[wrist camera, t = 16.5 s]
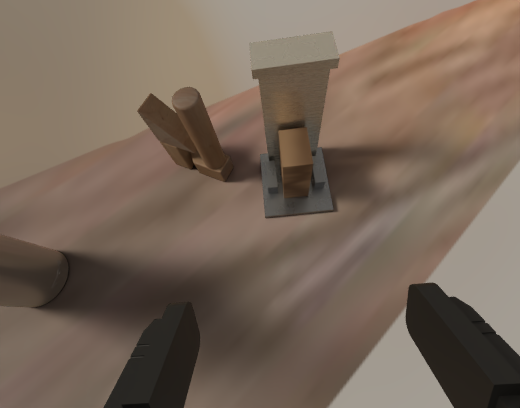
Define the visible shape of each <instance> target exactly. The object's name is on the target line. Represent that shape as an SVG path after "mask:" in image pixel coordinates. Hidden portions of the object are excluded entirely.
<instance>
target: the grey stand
mask: <svg viewBox="0 0 520 408" xmlns="http://www.w3.org/2000/svg"><path fill="white" fill-rule="evenodd" d="M250 58H251V70H252V76H253V79H259V87H260V95H261V103H262V110H263V118H264V126H265V134H266V142H267V150H268V153H267V154H260V159H261V172H262V184H263V196H264V208H265V218H271V217H281V216H291V215H301V214H311V213H321V212H331V211H333V204H332V199H331V194H330V189H329V184H328V178H327V173H326V168H325V163H324V158H323V153H322V147H319V148H317V146H318V140H319V134H320V128H321V122H322V116H323V110H324V104H325V98H326V92H327V86H328V79H329V73H330V69H334V68H338V63H339V54H338V51H337V47H336V43H335V40H334V36H333V32H332V31H331V32H324V33H318V34H310V35H303V36H296V37H289V38H282V39H275V40H269V41H261V42H254V43H250ZM304 127H307V131H308V137H309V142H310V148H311V154H312V160H313V169H312V175H311V181H310V188H309V194H308V196H301V197H292V198H284V194H283V185H282V177H281V168H280V151H279V134H278V131H279V130H288V129H296V128H304Z"/></svg>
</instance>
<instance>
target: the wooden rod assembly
mask: <svg viewBox="0 0 520 408" xmlns="http://www.w3.org/2000/svg"><path fill="white" fill-rule="evenodd" d="M172 104H173V107H174V109H175V110H176V112H177V113H175V112H174V111H173V110H172V109H170V108H169V107H168V106H166V105H165V104H164V103H163V102H162V101H160V100H159V99H158V98H156V97H155V96H154V95H153V94H149V96H148V97H147V98H146V100H145V101H144V102H143V104H142V105H141V106H140V108H139V109H138V113H139V114H140V116H141V117H142V118H143V120H144V121H145V122H146V124H147V125H148V127H149V128H150V129H151V131H152V132H153V133H154V135H155V136H156V137H157V139H158V140H159V141H160V143H161V144H162V145H163V147H164V148H165V149H166V151H167V152H168V153H169V155H170V156H171V158H172V159H173V160H174V162H175V163H176V164H178V165H181V166H183V167H186V168H189V169H192V167H193V166H194V164H195V166H196V168H197V169H198V171H199V172H200V173H202V174H205V175H207V176H210V177H213V178H215V179H218V180H221V181H223V182H225V181H226V179H227V178H228V176H229V174H230V172H231V170H232V169H233V164H232V161H231V158H230V156H228V155H225V154H224V153H223V151H222V148H221V146H220V143H219V141H218V138H217V136H216V133H215V131H214V128H213V126H212V123H211V121H210V118H209V116H208V113H207V111H206V108H205V106H204V103H203V101H202V98H201V96H200V93H199V92H198V91H197V90H196V89H194V88H192V87H185V88H182V89H180V90H178V91H176V93H175V94H174V95H173V97H172Z"/></svg>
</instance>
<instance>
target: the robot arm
mask: <svg viewBox="0 0 520 408" xmlns="http://www.w3.org/2000/svg"><path fill="white" fill-rule="evenodd" d="M68 270H69V268H68V262H67V259H66V258H65V256H64V255H63V254H62V253H61V252H58V251H56V250H53V249H49V248H46V247H42V246H39V245H36V244H32V243H29V242H25V241H22V240H18V239H15V238H11V237H8V236H4V235H1V234H0V306H7V307H38V306H42V305H44V304H46V303H48V302H49V301H51V300H52V299H53V298H55V297H56V295H57V294H58V293H59V292H60V291H61V289H62V288H63V286H64V284H65V282H66V280H67V276H68ZM406 325H407V328H408V331H409V334H410V336H411V337H412V339H413V341H414V342H415V344H416V346H417V347H418V349H419V351H420V352H421V354H422V356H423V357H424V359H425V360H426V362H427V364H428V365H429V367H430V369H431V370H432V372H433V374H434V375H435V377H436V379H437V380H438V382H439V383H440V385H441V387H442V389H443V390H444V392H445V394H446V395H447V397H448V398H449V400H450V402H451V403H452V405H453V406H454V408H520V356H519V355H518V354H517V353H516V352H515V351H514V350H513V349H512V348H511V347H510V346H509V345H508V344H507V343H506V342H505V341H504V340H503V339H502V338H501V337H500V336H499V335H497V334H496V332H495V331H494V330H493V329H492V327H491V326H490V325H489V324H488V323H485V321H484V319H483V318H482V317H481V316H480V315H479V314H478V313H477V312H476V311H475V310H474V309H473V308H472V307H471V306H469V305H467V304H466V303H464V302H462V301H461V300H459V299H458V298H456V297H448V296H447V295H446V294H445V293H444V292H443V290H442V289H441V288H440V287H439V286H438V285H437V284H435V283H422V284H411V285H410V286H409V290H408V299H407V309H406ZM199 346H200V333H199V329H198V325H197V321H196V318H195V314H194V310H193V307H192V304H191V303H190V302H181V303H170V304H169V305H168V306H167V308H166V310H165V312H164V315H163V317H162V319H155V320H154V321H153V322H152V323H151V324H150V325H149V326H148V327H147V328H146V329H145V330H144V331H143V333H142V335H141V337H140V339H139V341H138V343H137V347H135V349H134V351H133V353H132V354H131V358H130V359H129V360H128V362H127V364H126V366H125V368H124V370H123V372H122V374H121V375H120V377H119V379H118V381H117V383H116V385H115V387H114V389H113V391H112V393H111V395H110V397H109V398H108V400H107V402H106V404H105V406H104V408H184V404H185V400H186V397H187V393H188V389H189V385H190V382H191V378H192V374H193V370H194V366H195V363H196V359H197V355H198V351H199Z"/></svg>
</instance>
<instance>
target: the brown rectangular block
mask: <svg viewBox="0 0 520 408" xmlns="http://www.w3.org/2000/svg"><path fill="white" fill-rule="evenodd" d="M278 134H279V151H280V168H281V177H282V185H283V194H284V198H292V197H301V196H308V194H309V188H310V181H311V175H312V169H313V160H312V154H311V148H310V142H309V137H308V131H307V127H304V128H296V129H288V130H279V131H278Z"/></svg>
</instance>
